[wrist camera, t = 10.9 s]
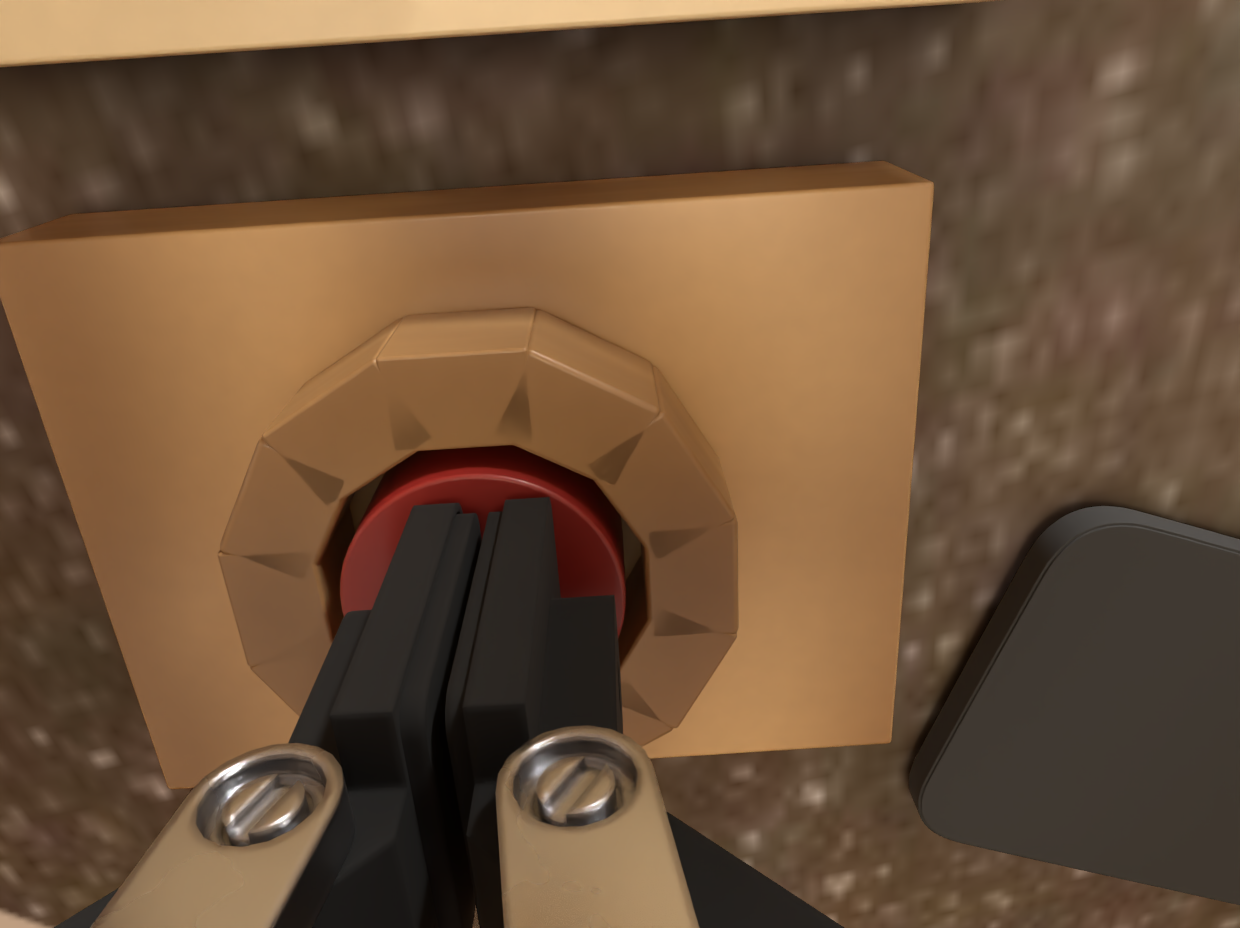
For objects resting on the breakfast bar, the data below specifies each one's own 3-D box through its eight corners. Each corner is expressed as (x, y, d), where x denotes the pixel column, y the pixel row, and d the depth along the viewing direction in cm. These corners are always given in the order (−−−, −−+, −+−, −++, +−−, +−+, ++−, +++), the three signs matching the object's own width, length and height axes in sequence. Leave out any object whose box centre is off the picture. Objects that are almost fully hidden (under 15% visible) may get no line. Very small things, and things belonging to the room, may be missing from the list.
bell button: (391, 648, 14) (366, 726, 13) (348, 428, 13) (312, 485, 11) (629, 633, 14) (634, 708, 13) (614, 410, 13) (617, 465, 11)
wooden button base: (216, 704, 18) (116, 880, 14) (68, 214, 14) (-121, 278, 10) (858, 663, 17) (927, 829, 14) (886, 159, 14) (991, 205, 10)
